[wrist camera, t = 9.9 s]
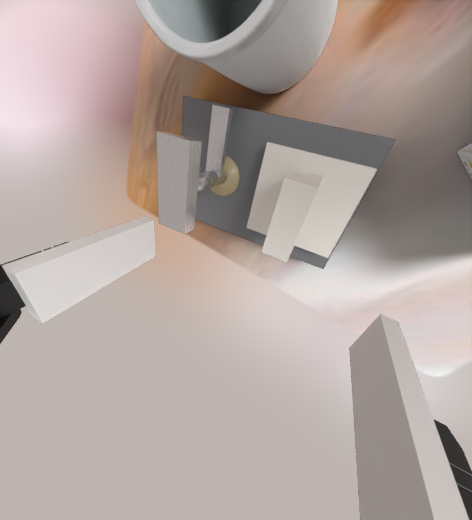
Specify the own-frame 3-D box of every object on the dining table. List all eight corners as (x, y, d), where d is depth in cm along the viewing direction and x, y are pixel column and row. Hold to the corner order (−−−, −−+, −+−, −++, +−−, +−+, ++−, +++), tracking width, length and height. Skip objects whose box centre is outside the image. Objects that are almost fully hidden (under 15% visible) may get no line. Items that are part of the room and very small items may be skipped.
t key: (217, 107, 27) (155, 85, 17) (244, 113, 26) (193, 93, 16) (206, 203, 34) (158, 222, 25) (226, 210, 33) (184, 234, 24)
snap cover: (374, 167, 23) (397, 179, 14) (328, 252, 30) (325, 295, 21) (271, 142, 26) (238, 139, 18) (250, 223, 33) (219, 250, 24)
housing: (386, 141, 25) (396, 139, 21) (324, 255, 35) (323, 270, 31) (202, 102, 32) (181, 95, 28) (194, 207, 42) (178, 213, 38)
